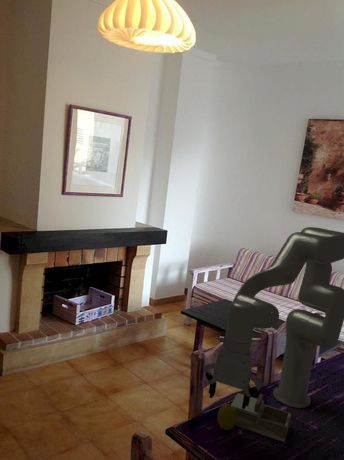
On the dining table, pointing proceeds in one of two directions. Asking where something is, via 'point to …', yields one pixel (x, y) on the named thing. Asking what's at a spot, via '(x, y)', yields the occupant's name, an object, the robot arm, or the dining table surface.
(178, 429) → the dining table surface
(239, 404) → the cover
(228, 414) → the lemon
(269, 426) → the beige box
